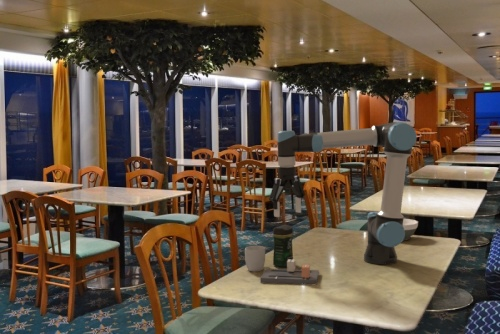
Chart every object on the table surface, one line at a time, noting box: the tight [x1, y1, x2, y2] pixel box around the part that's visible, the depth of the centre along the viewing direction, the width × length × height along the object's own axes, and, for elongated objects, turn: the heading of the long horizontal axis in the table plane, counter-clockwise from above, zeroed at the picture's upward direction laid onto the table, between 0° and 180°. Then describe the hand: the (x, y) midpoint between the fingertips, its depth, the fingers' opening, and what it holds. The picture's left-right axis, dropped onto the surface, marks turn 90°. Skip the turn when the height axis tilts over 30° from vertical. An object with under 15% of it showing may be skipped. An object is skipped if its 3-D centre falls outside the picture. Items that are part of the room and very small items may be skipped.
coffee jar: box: [272, 224, 294, 268], centre depth 252 cm, size 10×8×19 cm
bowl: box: [402, 218, 419, 242], centre depth 301 cm, size 20×20×10 cm
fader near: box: [301, 264, 311, 278], centre depth 226 cm, size 3×4×4 cm
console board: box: [259, 268, 320, 285], centre depth 232 cm, size 23×15×2 cm, turn 79°
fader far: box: [286, 258, 296, 272], centre depth 236 cm, size 3×4×4 cm
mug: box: [244, 245, 266, 273], centre depth 248 cm, size 13×9×10 cm
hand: (287, 214), depth 241 cm, fingers open, 13 cm apart
